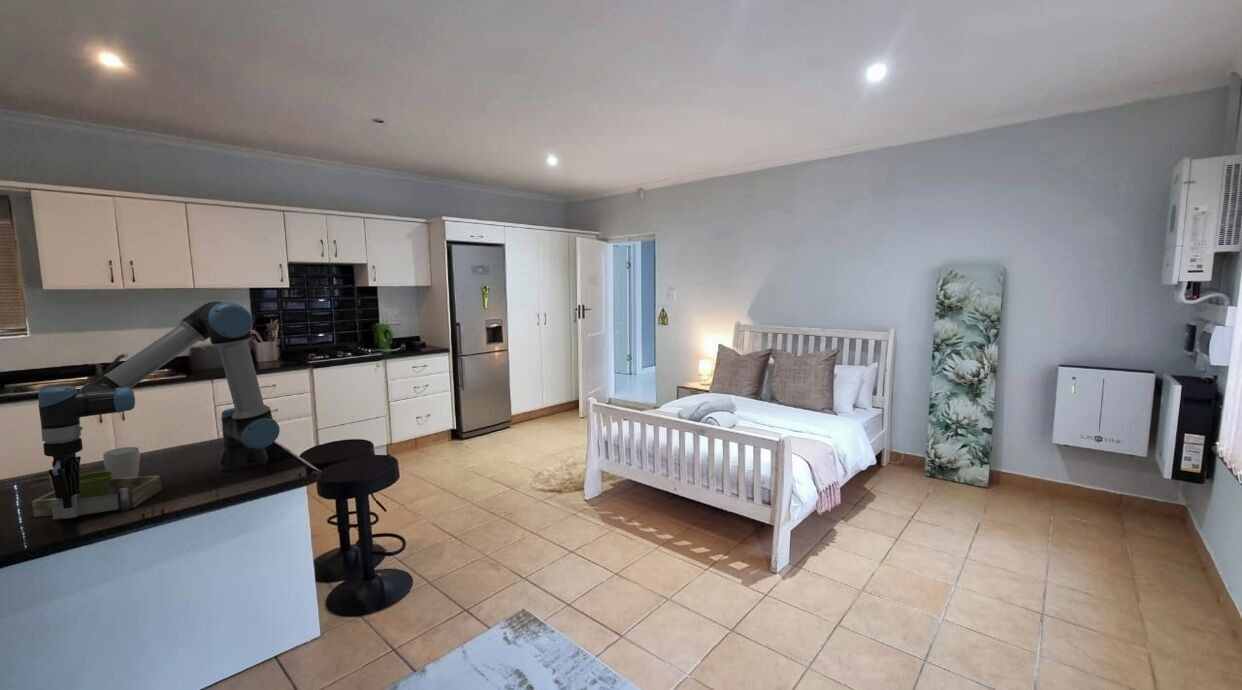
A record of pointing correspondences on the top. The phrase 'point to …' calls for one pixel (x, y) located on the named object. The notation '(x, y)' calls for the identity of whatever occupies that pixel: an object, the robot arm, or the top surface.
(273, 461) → the top surface
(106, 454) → the cup
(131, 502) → the pen walls
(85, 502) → the gate
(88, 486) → the plant pot
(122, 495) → the hinge post
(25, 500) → the top surface
